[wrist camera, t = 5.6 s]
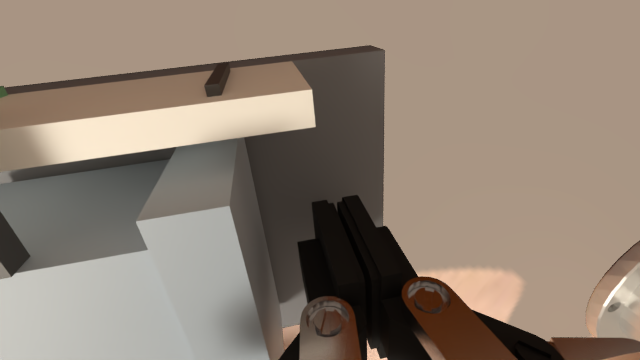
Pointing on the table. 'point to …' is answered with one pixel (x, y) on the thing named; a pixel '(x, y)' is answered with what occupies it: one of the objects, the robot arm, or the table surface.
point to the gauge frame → (221, 134)
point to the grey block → (139, 263)
